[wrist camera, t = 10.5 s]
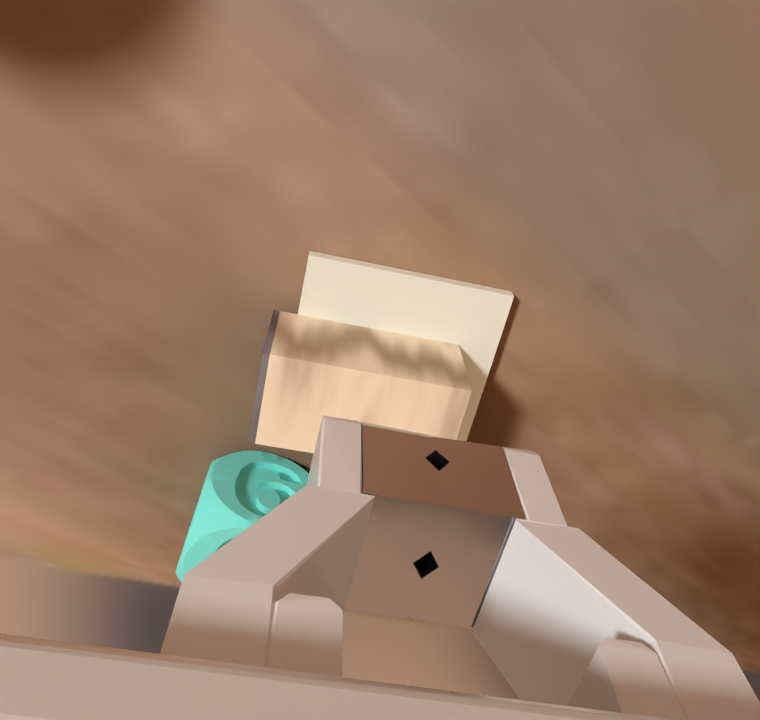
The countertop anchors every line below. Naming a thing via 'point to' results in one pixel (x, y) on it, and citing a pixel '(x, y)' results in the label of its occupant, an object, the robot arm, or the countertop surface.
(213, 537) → the decorative dice
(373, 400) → the birch block
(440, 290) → the mat
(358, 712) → the robot arm
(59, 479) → the countertop surface
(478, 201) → the countertop surface
